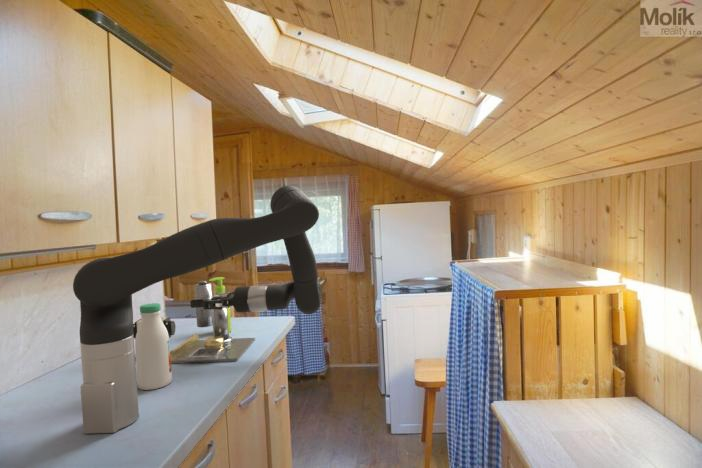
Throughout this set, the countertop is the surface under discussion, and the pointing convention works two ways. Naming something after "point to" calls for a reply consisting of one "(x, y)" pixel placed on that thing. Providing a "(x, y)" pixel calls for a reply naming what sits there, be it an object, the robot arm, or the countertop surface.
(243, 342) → the carrier plate
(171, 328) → the pneumatic valve
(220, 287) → the soap dispenser
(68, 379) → the countertop surface
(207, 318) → the cylinder
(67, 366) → the countertop surface
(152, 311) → the milk bottle
